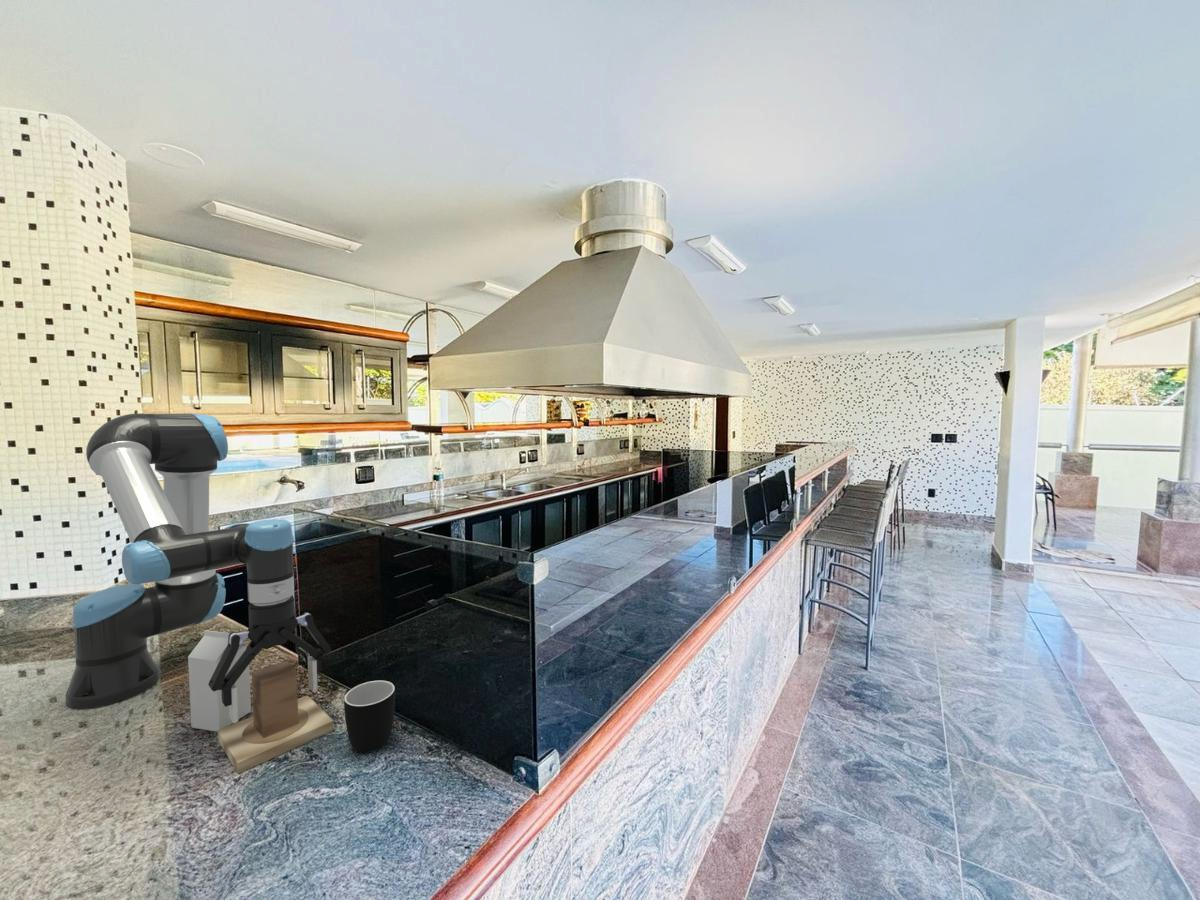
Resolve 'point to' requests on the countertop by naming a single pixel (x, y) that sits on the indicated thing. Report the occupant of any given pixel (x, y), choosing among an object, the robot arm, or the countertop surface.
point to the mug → (369, 715)
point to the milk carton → (201, 668)
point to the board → (272, 736)
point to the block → (275, 698)
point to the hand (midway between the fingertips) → (275, 703)
